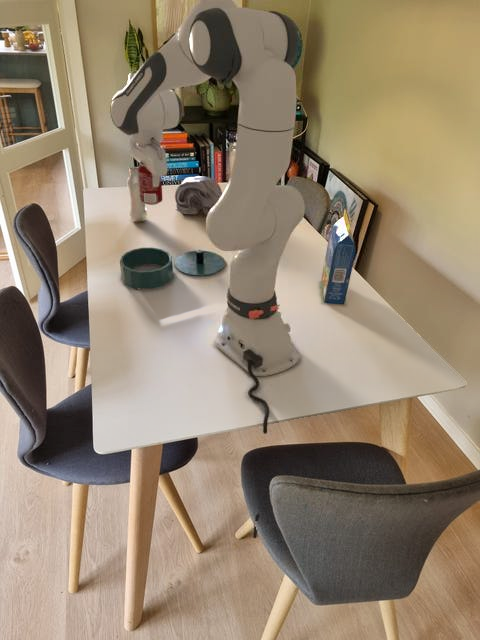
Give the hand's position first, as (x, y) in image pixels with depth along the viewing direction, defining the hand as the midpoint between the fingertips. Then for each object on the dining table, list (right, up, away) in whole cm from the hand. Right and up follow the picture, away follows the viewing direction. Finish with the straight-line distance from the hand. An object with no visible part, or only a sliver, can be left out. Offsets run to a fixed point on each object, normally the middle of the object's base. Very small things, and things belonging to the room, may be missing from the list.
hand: (150, 181), depth 136 cm
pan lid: (+14, -23, +12) cm, 30 cm away
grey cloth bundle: (+11, +2, +48) cm, 49 cm away
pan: (-2, -28, +5) cm, 29 cm away
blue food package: (+55, -34, +2) cm, 65 cm away
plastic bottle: (-12, -3, +39) cm, 41 cm away
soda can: (0, -5, +4) cm, 7 cm away
